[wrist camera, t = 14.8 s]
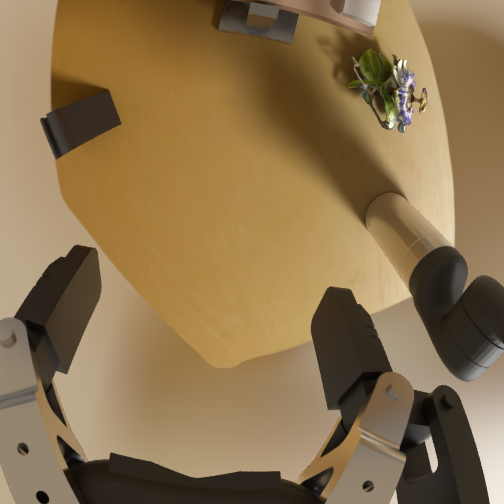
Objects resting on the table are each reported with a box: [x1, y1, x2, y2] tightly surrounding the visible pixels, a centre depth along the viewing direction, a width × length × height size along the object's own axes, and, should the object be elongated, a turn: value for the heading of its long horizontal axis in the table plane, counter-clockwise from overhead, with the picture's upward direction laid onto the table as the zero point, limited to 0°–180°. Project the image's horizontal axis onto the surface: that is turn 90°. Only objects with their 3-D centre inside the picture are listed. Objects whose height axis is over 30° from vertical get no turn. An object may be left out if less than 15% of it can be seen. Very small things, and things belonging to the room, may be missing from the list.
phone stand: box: [40, 91, 121, 159], centre depth 31 cm, size 9×6×12 cm, turn 105°
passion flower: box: [346, 48, 428, 133], centre depth 33 cm, size 11×11×12 cm
